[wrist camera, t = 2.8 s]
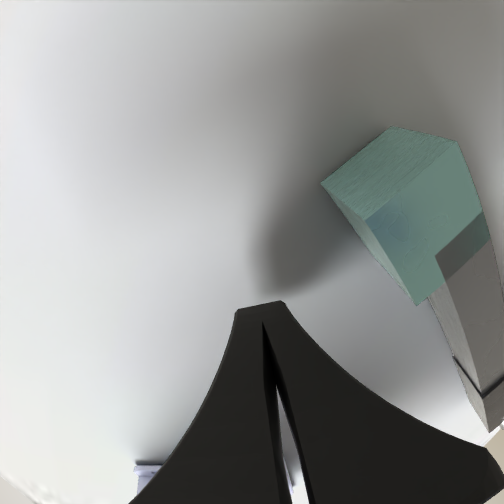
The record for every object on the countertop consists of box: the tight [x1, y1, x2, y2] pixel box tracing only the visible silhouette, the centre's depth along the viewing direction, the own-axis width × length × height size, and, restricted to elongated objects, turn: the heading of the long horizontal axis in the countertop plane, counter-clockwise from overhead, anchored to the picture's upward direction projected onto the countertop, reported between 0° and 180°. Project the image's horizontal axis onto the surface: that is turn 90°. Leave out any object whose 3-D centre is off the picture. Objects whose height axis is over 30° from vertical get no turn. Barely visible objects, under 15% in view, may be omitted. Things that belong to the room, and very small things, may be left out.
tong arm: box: [321, 126, 504, 433], centre depth 11 cm, size 22×4×3 cm, turn 40°
